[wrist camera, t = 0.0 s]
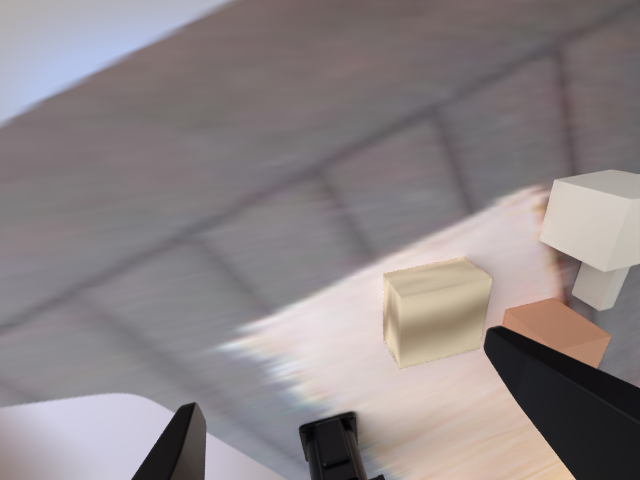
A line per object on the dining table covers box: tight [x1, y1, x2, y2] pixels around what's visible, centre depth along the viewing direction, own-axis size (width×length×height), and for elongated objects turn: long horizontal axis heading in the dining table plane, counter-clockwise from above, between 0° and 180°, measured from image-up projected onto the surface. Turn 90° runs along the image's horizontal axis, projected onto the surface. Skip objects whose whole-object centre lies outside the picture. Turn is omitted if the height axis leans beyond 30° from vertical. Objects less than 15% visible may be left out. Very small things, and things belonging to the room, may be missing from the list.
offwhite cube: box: [539, 169, 640, 272], centre depth 25 cm, size 6×6×6 cm
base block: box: [383, 257, 493, 369], centre depth 27 cm, size 8×8×4 cm
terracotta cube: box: [502, 298, 612, 368], centre depth 31 cm, size 6×6×6 cm
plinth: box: [571, 262, 630, 311], centre depth 29 cm, size 8×2×3 cm, turn 6°
